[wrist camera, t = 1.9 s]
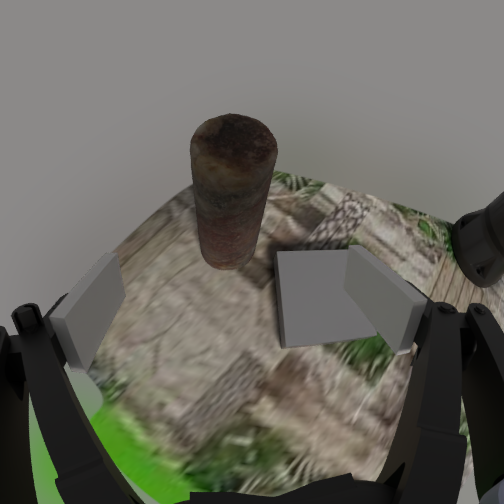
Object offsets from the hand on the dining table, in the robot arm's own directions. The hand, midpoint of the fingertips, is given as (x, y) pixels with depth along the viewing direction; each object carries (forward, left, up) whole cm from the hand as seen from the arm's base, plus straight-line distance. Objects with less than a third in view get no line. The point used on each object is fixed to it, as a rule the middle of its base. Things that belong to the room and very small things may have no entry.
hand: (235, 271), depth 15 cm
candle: (0, -11, -21) cm, 24 cm away
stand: (-12, -3, -21) cm, 24 cm away
